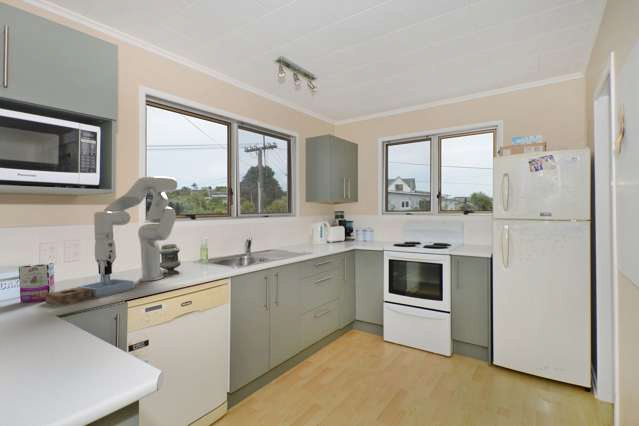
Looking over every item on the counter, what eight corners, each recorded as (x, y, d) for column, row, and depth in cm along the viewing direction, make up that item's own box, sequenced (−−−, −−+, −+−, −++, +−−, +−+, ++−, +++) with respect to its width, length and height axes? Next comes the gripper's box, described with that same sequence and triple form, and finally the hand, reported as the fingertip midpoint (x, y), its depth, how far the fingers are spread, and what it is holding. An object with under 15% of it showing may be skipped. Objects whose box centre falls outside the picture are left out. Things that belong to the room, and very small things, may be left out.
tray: (114, 286, 169) (114, 278, 169) (133, 288, 162) (133, 280, 162) (77, 294, 153) (77, 286, 153) (96, 298, 146) (96, 289, 146)
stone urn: (160, 272, 204) (158, 244, 204) (180, 270, 209) (179, 242, 209) (159, 275, 193) (158, 246, 193) (181, 273, 198) (180, 244, 198)
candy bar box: (55, 297, 149) (54, 262, 149) (49, 300, 144) (48, 264, 144) (26, 300, 146) (25, 264, 146) (19, 303, 141) (18, 266, 141)
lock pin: (107, 283, 160) (106, 259, 160) (112, 283, 158) (111, 259, 158) (98, 284, 156) (98, 260, 156) (103, 285, 155) (103, 260, 154)
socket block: (76, 295, 151) (76, 287, 151) (91, 298, 146) (91, 289, 146) (45, 303, 140) (45, 293, 140) (60, 305, 135) (60, 296, 135)
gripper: (122, 236, 157) (123, 273, 157) (101, 235, 164) (103, 271, 164) (106, 237, 150) (107, 276, 150) (85, 237, 157) (87, 274, 158)
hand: (105, 273), depth 157 cm, fingers closed on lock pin, 4 cm apart
